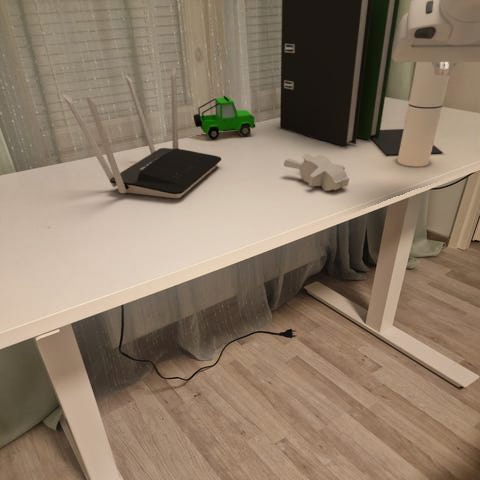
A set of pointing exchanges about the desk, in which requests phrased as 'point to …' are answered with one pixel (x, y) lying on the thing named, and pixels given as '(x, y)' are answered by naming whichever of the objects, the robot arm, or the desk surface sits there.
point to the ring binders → (335, 67)
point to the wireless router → (151, 157)
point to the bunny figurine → (320, 172)
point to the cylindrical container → (422, 115)
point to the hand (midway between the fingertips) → (441, 71)
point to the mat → (393, 142)
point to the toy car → (224, 119)
